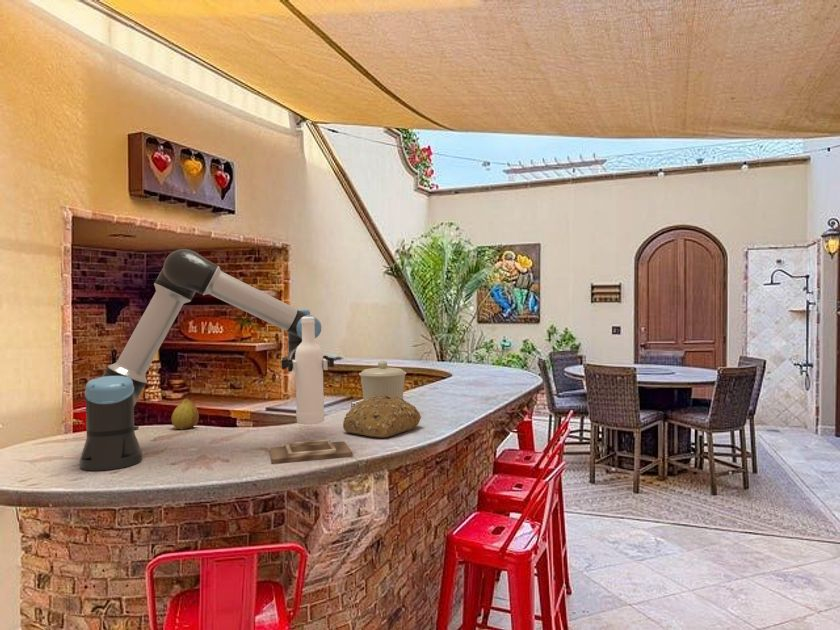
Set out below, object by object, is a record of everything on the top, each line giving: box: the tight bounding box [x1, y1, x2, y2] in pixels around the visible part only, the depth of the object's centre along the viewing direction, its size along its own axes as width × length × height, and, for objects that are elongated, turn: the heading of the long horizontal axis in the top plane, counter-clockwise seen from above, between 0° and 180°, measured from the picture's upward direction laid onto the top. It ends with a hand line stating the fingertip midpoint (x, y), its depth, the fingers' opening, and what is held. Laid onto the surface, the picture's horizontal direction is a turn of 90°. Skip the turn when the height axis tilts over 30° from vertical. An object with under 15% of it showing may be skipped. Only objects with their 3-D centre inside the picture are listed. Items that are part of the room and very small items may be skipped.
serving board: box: [269, 439, 354, 465], centre depth 168 cm, size 22×14×2 cm, turn 107°
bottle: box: [295, 316, 325, 425], centre depth 167 cm, size 8×8×30 cm
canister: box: [358, 360, 407, 400], centre depth 224 cm, size 18×18×21 cm
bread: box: [342, 395, 422, 439], centre depth 197 cm, size 24×21×12 cm
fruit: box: [170, 393, 200, 430], centre depth 207 cm, size 9×9×12 cm
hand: (310, 366), depth 163 cm, fingers closed on bottle, 8 cm apart
